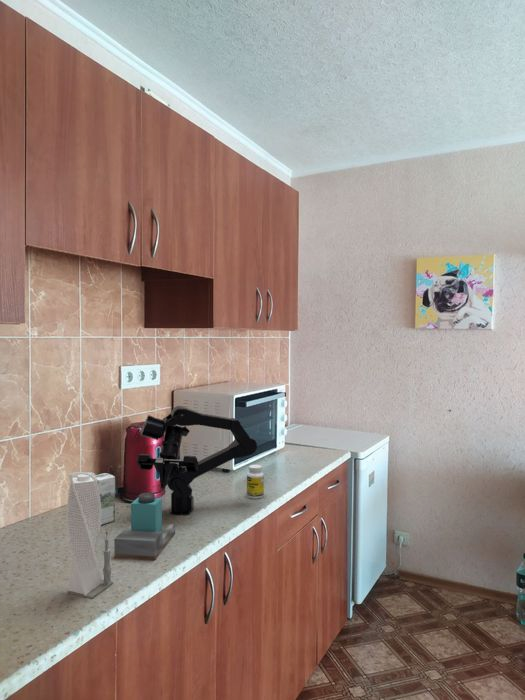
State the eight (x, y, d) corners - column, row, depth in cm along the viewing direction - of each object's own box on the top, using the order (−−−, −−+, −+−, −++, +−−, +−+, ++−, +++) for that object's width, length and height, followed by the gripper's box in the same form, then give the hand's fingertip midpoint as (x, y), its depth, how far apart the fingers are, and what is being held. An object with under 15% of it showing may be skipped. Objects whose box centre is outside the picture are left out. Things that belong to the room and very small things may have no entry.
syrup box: (105, 516, 157) (104, 472, 156) (115, 521, 153) (115, 475, 153) (88, 522, 152) (88, 476, 152) (99, 526, 149) (98, 479, 148)
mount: (139, 531, 145) (139, 515, 145) (175, 533, 143) (175, 516, 143) (114, 557, 128) (114, 538, 128) (154, 560, 127) (154, 541, 126)
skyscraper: (87, 602, 107) (86, 475, 106) (59, 594, 110) (57, 471, 109) (112, 583, 115) (111, 465, 114) (85, 577, 118) (84, 462, 117)
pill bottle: (243, 497, 175) (243, 467, 175) (251, 492, 181) (251, 463, 180) (258, 500, 172) (258, 469, 172) (266, 495, 178) (266, 465, 178)
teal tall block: (138, 535, 139) (137, 491, 138) (162, 536, 138) (161, 492, 138) (131, 543, 134) (130, 497, 134) (155, 544, 133) (155, 498, 133)
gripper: (203, 456, 164) (196, 500, 154) (148, 454, 165) (138, 498, 155) (199, 439, 155) (191, 485, 145) (141, 437, 157) (130, 482, 146)
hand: (162, 488), depth 148 cm, fingers closed
